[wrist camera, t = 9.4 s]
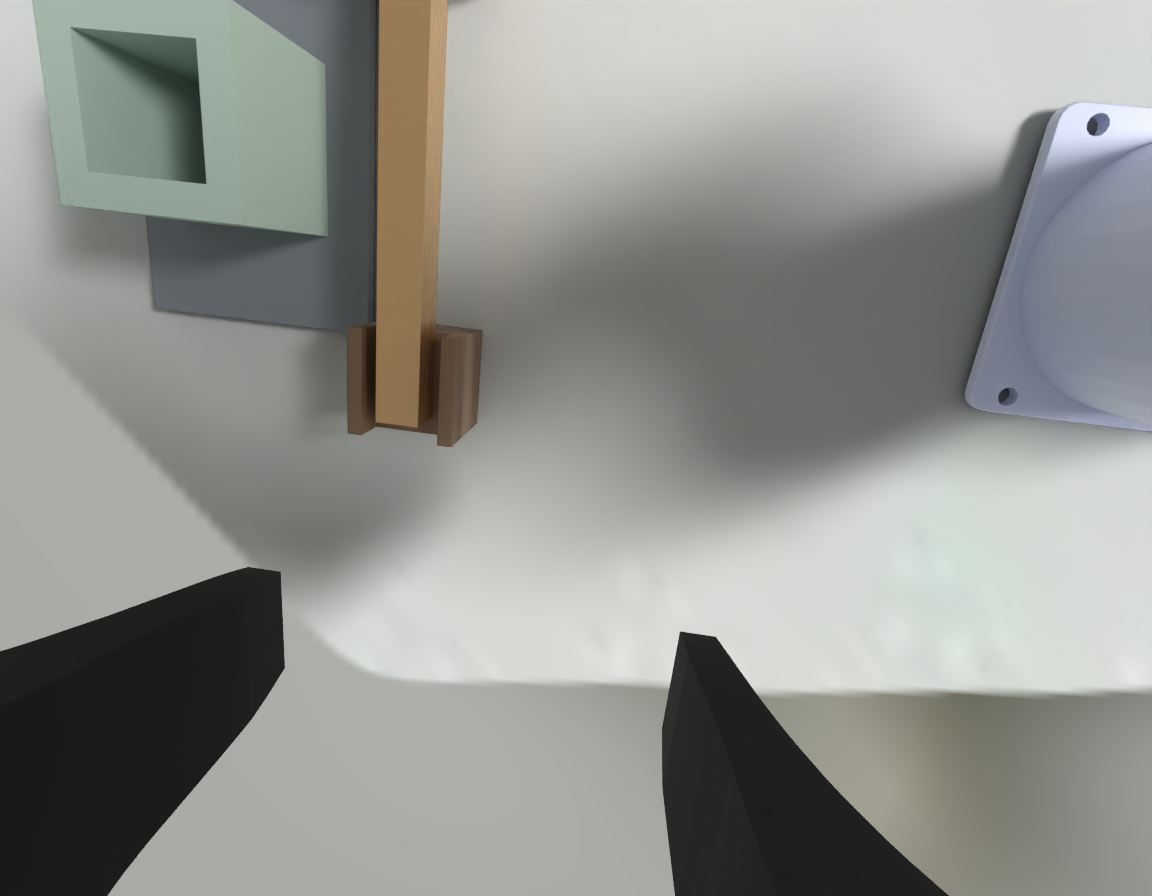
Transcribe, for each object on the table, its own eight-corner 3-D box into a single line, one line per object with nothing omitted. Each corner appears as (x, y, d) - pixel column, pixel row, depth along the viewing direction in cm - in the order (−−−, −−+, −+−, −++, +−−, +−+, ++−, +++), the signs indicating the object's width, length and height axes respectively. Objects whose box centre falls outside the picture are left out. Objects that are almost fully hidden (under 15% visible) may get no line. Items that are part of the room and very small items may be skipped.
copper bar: (455, -182, 13) (437, -226, 12) (431, 417, 17) (417, 427, 16) (403, -186, 13) (381, -229, 12) (392, 412, 17) (375, 421, 16)
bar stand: (511, -151, 15) (484, -247, 12) (476, 423, 19) (450, 446, 16) (395, -159, 15) (343, -256, 12) (387, 411, 19) (347, 433, 16)
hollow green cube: (325, 64, 16) (228, -2, 12) (328, 236, 17) (241, 224, 14) (170, 49, 16) (29, -20, 12) (185, 220, 18) (60, 204, 14)
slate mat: (376, -43, 16) (369, -51, 15) (373, 333, 18) (367, 334, 18) (129, -64, 16) (117, -72, 16) (164, 307, 19) (155, 308, 18)
